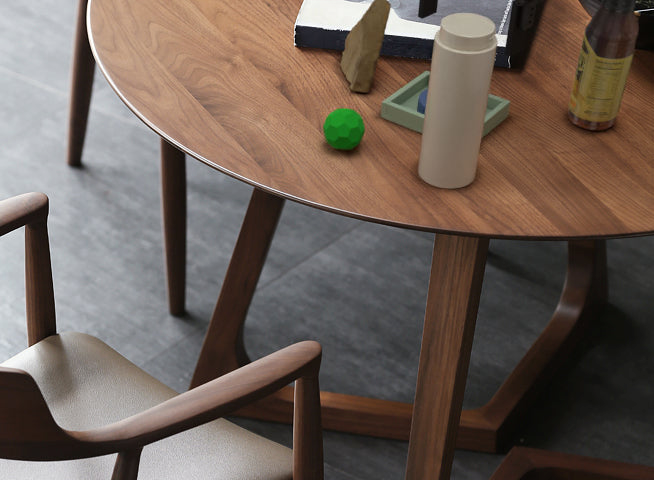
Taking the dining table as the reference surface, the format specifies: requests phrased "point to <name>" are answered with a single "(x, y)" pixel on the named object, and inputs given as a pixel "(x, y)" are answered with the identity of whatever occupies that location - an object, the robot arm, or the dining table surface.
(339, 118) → the polyhedron
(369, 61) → the rock
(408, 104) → the tray
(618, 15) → the sauce bottle
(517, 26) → the robot arm
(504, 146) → the dining table surface
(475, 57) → the jar
